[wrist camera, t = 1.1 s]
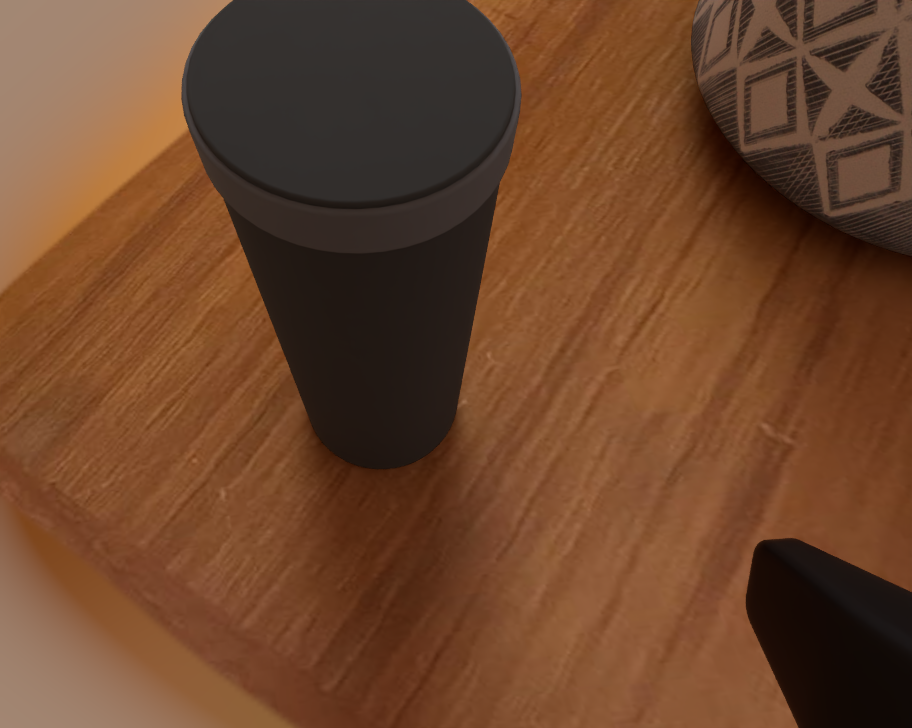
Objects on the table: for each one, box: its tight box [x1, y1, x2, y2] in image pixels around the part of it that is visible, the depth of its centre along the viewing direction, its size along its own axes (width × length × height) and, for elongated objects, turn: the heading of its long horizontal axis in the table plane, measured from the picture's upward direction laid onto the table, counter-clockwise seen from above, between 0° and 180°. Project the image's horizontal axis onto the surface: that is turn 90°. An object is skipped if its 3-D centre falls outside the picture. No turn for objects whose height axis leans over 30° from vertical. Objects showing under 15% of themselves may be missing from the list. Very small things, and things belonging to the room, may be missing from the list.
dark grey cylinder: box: [182, 0, 521, 469], centre depth 16 cm, size 5×5×14 cm
